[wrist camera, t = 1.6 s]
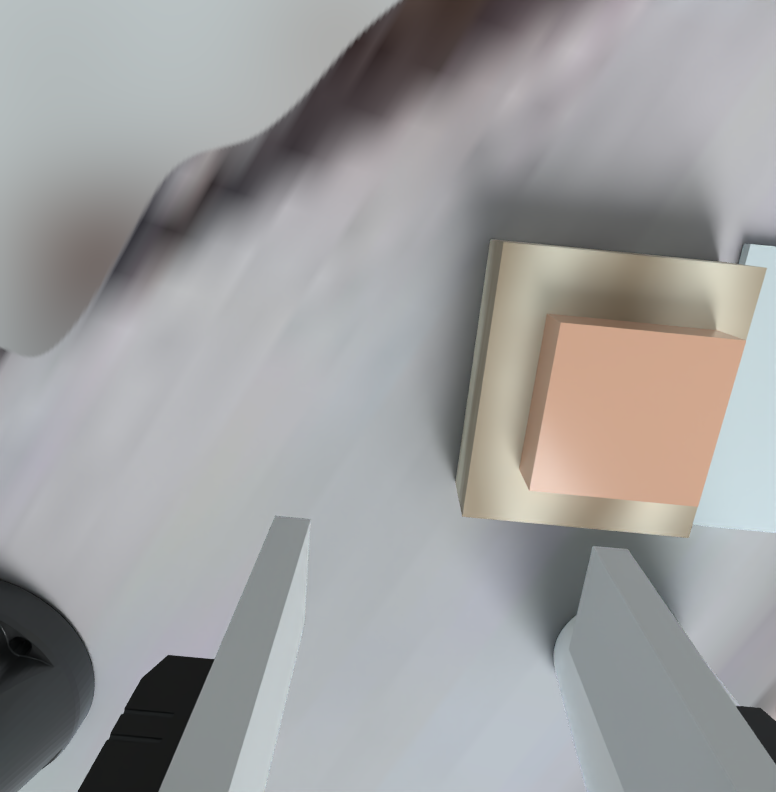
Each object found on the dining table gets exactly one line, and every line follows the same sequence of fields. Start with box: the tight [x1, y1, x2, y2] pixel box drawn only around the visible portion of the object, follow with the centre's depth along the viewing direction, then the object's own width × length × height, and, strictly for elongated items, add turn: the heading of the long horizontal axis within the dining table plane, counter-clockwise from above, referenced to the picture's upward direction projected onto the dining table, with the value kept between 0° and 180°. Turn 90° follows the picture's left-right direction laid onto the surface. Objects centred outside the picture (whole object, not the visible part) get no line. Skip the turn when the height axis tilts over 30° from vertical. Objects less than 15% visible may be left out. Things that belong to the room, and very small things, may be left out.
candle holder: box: [553, 615, 740, 792], centre depth 31 cm, size 10×10×12 cm
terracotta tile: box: [519, 314, 746, 507], centre depth 26 cm, size 8×8×2 cm
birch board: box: [455, 239, 767, 538], centre depth 29 cm, size 12×14×4 cm
